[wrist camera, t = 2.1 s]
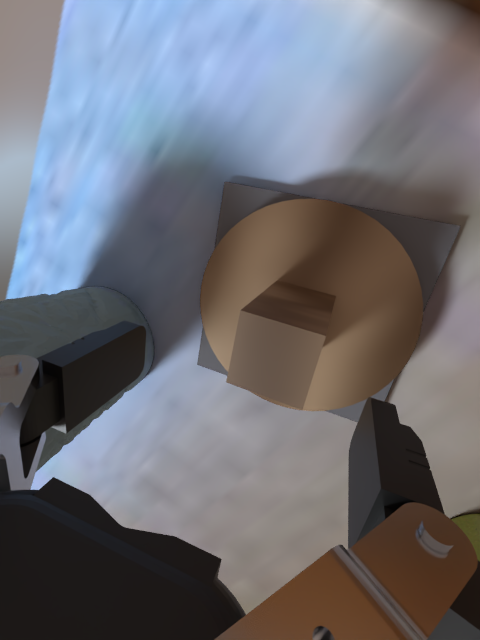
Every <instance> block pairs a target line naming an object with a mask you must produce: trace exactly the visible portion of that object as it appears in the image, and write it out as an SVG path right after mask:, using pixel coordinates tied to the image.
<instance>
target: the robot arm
mask: <svg viewBox="0 0 480 640" xmlns="http://www.w3.org/2000/svg"><path fill="white" fill-rule="evenodd" d="M145 346H146V329H145V327H144V326H141V325H138V324H135V323H132V322H128V321H122V322H120V323H118V324H115V325H113V326H111V327H109V328H107V329H105V330H100V331H96V332H92V333H90V334H88V335H86V336H84V337H82V338H81V339H77V340H75V341H73V342H72V343H71V344H70V343H69V344H66V345H64V346H62V347H60V348H58V349H56V350H53V351H51V352H49V353H47V354H45V355H43V356H40V357H38V358H34V357H32V356H28V355H6V356H1V357H0V640H480V561H478V560H477V555H476V552H475V549H474V547H473V545H472V543H471V542H470V540H469V539H468V537H467V536H466V534H465V533H464V532H463V531H462V530H461V529H460V528H459V527H458V525H457V524H455V523H454V522H453V521H452V520H451V519H450V518H448V517H447V516H446V515H445V514H444V510H443V507H442V504H441V501H440V498H439V495H438V491H437V488H436V485H435V482H434V479H433V476H432V472H431V470H429V469H430V466H429V463H428V460H427V458H426V453H425V450H424V447H423V444H422V441H421V440H420V439H419V437H418V436H417V435H416V434H415V432H414V431H413V430H412V429H411V427H409V426H406V425H402V424H400V423H399V418H398V414H397V410H396V406H395V405H394V404H390V403H387V402H384V401H381V400H378V399H374V398H371V397H369V398H368V399H367V401H366V403H365V405H364V408H363V410H362V413H361V416H360V418H359V421H358V424H357V426H356V429H355V431H354V434H353V437H352V440H351V444H350V449H349V506H348V550H346V549H345V548H344V547H343V545H337V546H335V547H333V548H332V549H330V550H329V551H328V552H326V553H325V554H324V555H323V556H321V557H320V558H319V559H317V560H316V561H315V562H314V563H312V564H311V565H310V566H308V567H307V568H306V569H305V570H303V571H302V572H301V573H299V574H298V575H297V576H296V577H294V578H293V579H292V580H290V581H289V582H288V583H287V584H285V585H284V586H283V587H281V588H280V589H279V590H278V591H276V592H275V593H274V594H272V595H271V596H270V597H269V598H267V599H266V600H265V601H263V602H262V603H261V604H260V605H258V606H257V607H256V608H254V609H253V610H252V611H251V612H249V613H248V614H247V615H246V614H245V612H244V610H243V609H242V607H241V606H240V604H239V603H238V601H237V599H236V598H235V597H234V595H233V594H232V593H231V592H230V591H229V589H228V588H227V587H226V586H225V585H224V584H223V583H222V582H221V581H220V580H219V579H218V578H217V577H218V572H219V568H220V563H221V559H220V558H218V557H216V556H214V555H212V554H210V553H208V552H206V551H204V550H202V549H199V548H197V547H195V546H193V545H191V544H189V543H187V542H185V541H183V540H181V539H179V538H177V537H174V536H169V535H163V534H157V533H152V532H146V531H140V530H135V529H129V528H125V527H123V526H121V525H120V524H118V523H117V522H116V521H115V520H114V519H113V518H112V517H111V516H110V515H109V514H108V513H107V512H106V511H105V510H104V509H103V508H102V507H101V506H100V505H99V504H98V503H97V502H96V501H95V500H94V499H93V498H92V497H91V496H90V495H89V494H87V493H85V492H83V491H81V490H79V489H76V488H74V487H72V486H70V485H68V484H66V483H64V482H62V481H60V480H58V479H56V478H54V477H53V478H52V479H51V480H50V481H49V482H48V483H46V484H45V485H44V486H43V487H42V488H41V489H40V490H30V489H31V485H32V482H33V479H34V475H35V472H36V469H37V466H38V463H39V459H40V456H41V453H42V450H43V446H44V443H45V439H46V435H45V431H46V430H48V429H49V428H50V427H52V428H54V429H57V430H59V431H61V432H63V433H66V434H67V433H68V432H69V431H70V430H72V429H73V428H74V427H76V426H77V425H78V424H79V423H81V422H82V421H83V420H85V419H86V418H87V417H88V416H90V415H91V414H92V413H94V412H95V411H96V410H98V409H99V408H100V407H101V406H103V405H104V404H105V403H107V402H108V401H109V400H110V399H112V398H113V397H114V396H116V395H117V394H118V393H119V392H121V391H122V390H123V389H125V388H126V387H127V386H128V385H130V384H131V383H132V382H134V381H135V380H136V379H137V378H138V377H139V376H140V374H141V373H142V371H143V368H144V364H145Z"/></svg>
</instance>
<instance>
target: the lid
mask: <svg viewBox="0 0 480 640" xmlns="http://www.w3.org/2000/svg"><path fill="white" fill-rule="evenodd" d="M200 308H201V317H202V323H203V327H204V330H205V334H206V337H207V339H208V341H209V344H210V346H211V348H212V350H213V352H214V353H215V355H216V357H217V359H218V360H219V361H220V363H221V364H222V366H223V367H224V368H225V369H226V370H227V372H228V376H227V381H226V382H227V383H230V384H232V385H235V386H238V387H241V388H243V389H246V390H249V391H250V392H252V393H254V394H255V395H257V396H259V397H261V398H262V399H265V400H267V401H269V402H272V403H274V404H277V405H280V406H284V407H287V408H292V409H297V410H306V411H327V410H333V409H340V408H343V407H347V406H351V405H354V404H356V403H358V402H361V401H363V400H366V399H367V398H369V397H371V396H373V395H374V394H376V393H378V392H379V391H380V390H382V389H383V388H384V387H386V386H387V385H388V384H389V383H390V382H391V381H392V380H393V379H394V378H395V377H396V376H397V375H398V374H399V373H400V372H401V370H402V369H403V368H404V366H405V365H406V364H407V362H408V361H409V359H410V357H411V355H412V353H413V351H414V349H415V347H416V344H417V341H418V338H419V335H420V331H421V326H422V320H423V299H422V290H421V286H420V282H419V279H418V275H417V272H416V270H415V268H414V266H413V263H412V261H411V259H410V257H409V256H408V254H407V253H406V251H405V249H404V248H403V246H402V245H401V243H400V242H399V241H398V240H397V239H396V238H395V237H394V236H393V235H392V234H391V232H390V231H389V230H387V229H386V228H385V227H384V226H383V225H381V224H380V223H379V222H378V221H376V220H375V219H373V218H372V217H370V216H368V215H367V214H365V213H363V212H362V211H359V210H357V209H355V208H352V207H350V206H347V205H344V204H341V203H337V202H333V201H329V200H320V199H294V200H288V201H282V202H279V203H275V204H272V205H269V206H266V207H264V208H262V209H260V210H257V211H255V212H253V213H252V214H250V215H248V216H247V217H245V218H244V219H242V220H241V221H240V222H238V223H237V224H236V225H235V226H234V227H233V228H231V229H230V230H229V232H228V233H227V234H226V235H225V236H224V237H223V238H222V239H221V241H220V242H219V244H218V245H217V247H216V248H215V250H214V251H213V253H212V255H211V257H210V259H209V261H208V264H207V266H206V269H205V272H204V275H203V280H202V285H201V295H200Z"/></svg>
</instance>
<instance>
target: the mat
mask: <svg viewBox="0 0 480 640" xmlns="http://www.w3.org/2000/svg"><path fill="white" fill-rule="evenodd" d="M294 199H315V198H310V197H304V196H299V195H294V194H288V193H283V192H278V191H273V190H267V189H262V188H257V187H251V186H246V185H241V184H235V183H230V182H224V189H223V195H222V202H221V209H220V216H219V222H218V229H217V236H216V242H215V248H216V247H217V245H218V244H219V242H220V241H221V239H222V238H223V237H224V236H225V235H226V234H227V233H228V232H229V230H230V229H231V228H233V227H234V226H235V225H236V224H237V223H238V222H240V221H241V220H242V219H244V218H245V217H247V216H248V215H250V214H252V213H253V212H255V211H257V210H260V209H262V208H264V207H266V206H269V205H272V204H275V203H279V202H282V201H288V200H294ZM344 205H347V204H344ZM347 206H350V207H352V208H355V209H357V210H359V211H362V212H363V213H365V214H367V215H368V216H370V217H372V218H373V219H375V220H376V221H378V222H379V223H380V224H381V225H383V226H384V227H385V228H386V229H387V230H389V231H390V232H391V234H392V235H393V236H394V237H395V238H396V239H397V240H398V241H399V242H400V243H401V245H402V246H403V248H404V249H405V251H406V253H407V254H408V256H409V257H410V259H411V261H412V263H413V266H414V268H415V270H416V272H417V275H418V279H419V282H420V286H421V290H422V299H423V312H424V309H425V307H426V305H427V302H428V300H429V298H430V295H431V293H432V291H433V289H434V286H435V284H436V282H437V279H438V277H439V275H440V272H441V270H442V268H443V265H444V263H445V261H446V259H447V256H448V254H449V252H450V249H451V247H452V245H453V242H454V240H455V238H456V236H457V233H458V231H459V229H460V226H458V225H453V224H447V223H442V222H437V221H431V220H426V219H421V218H416V217H410V216H405V215H400V214H394V213H389V212H384V211H378V210H373V209H368V208H363V207H357V206H352V205H347ZM214 250H215V249H214ZM197 365H200V366H202V367H205V368H208V369H211V370H214V371H216V372H219V373H222V374H225V375H227V376H228V372H227V370H226V369H225V368H224V367H223V366H222V364H221V363H220V361H219V360H218V359H217V357H216V355H215V353H214V352H213V350H212V348H211V346H210V344H209V341H208V339H207V337H206V334H205V330H204V327H203V330H202V336H201V343H200V350H199V357H198V363H197ZM393 381H394V379H393V380H392V381H391V382H390V383H389V384H388V385H387V386H386V387H384V388H383V389H382V390H380V391H379V392H378V393H376V394H374V395H373V396H371V398H374V399H378V400H381V401H385V399H386V397H387V394H388V392H389V390H390V387H391V385H392V383H393ZM367 399H368V398H367ZM367 399H366V400H363V401H361V402H358V403H356V404H354V405H351V406H347V407H343V408H340V409H333V410H327V412H330V413H333V414H336V415H339V416H341V417H344V418H347V419H350V420H352V421H355V422H358V421H359V418H360V416H361V413H362V410H363V408H364V405H365V403H366V401H367Z"/></svg>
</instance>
